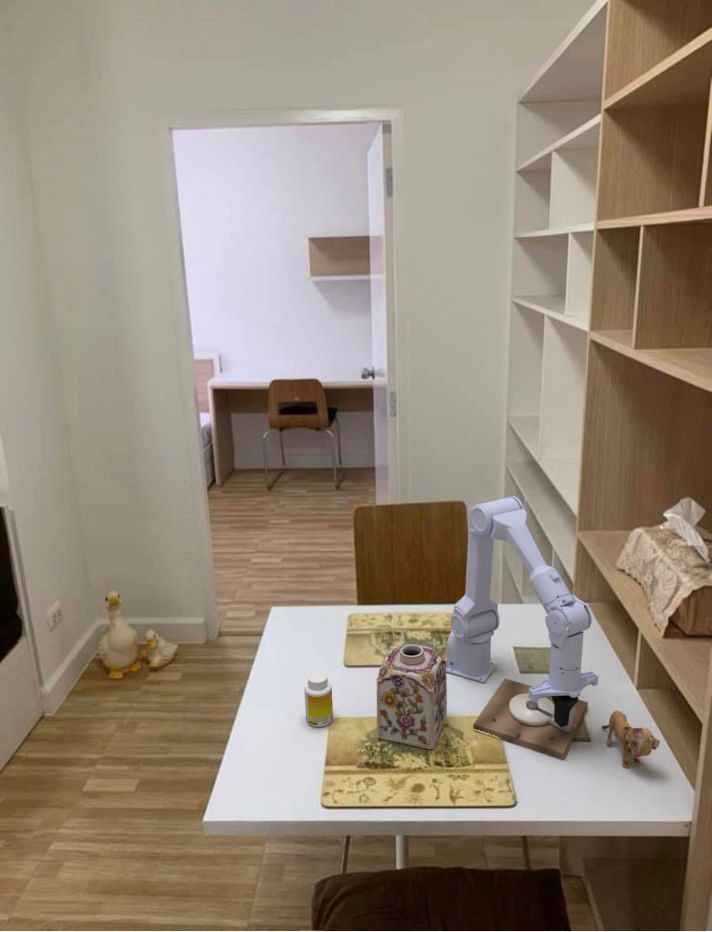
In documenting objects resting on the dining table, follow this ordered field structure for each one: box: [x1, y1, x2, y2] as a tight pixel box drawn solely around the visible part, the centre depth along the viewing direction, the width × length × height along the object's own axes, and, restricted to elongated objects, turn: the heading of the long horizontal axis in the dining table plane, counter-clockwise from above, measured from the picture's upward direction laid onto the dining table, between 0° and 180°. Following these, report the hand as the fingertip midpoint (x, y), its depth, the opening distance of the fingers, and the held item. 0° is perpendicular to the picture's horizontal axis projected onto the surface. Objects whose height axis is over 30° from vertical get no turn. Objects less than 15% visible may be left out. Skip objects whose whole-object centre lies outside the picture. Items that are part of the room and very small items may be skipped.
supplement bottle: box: [304, 671, 334, 728], centre depth 148 cm, size 6×6×10 cm
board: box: [472, 678, 589, 761], centre depth 147 cm, size 18×18×2 cm
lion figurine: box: [601, 710, 661, 769], centre depth 135 cm, size 15×5×9 cm, turn 15°
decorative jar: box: [376, 643, 448, 750], centre depth 143 cm, size 12×12×18 cm
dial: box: [509, 693, 574, 732], centre depth 144 cm, size 14×9×5 cm, turn 44°
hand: (561, 723), depth 140 cm, fingers closed, pressing on dial
